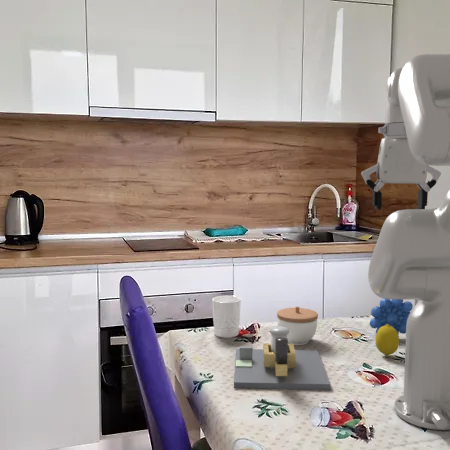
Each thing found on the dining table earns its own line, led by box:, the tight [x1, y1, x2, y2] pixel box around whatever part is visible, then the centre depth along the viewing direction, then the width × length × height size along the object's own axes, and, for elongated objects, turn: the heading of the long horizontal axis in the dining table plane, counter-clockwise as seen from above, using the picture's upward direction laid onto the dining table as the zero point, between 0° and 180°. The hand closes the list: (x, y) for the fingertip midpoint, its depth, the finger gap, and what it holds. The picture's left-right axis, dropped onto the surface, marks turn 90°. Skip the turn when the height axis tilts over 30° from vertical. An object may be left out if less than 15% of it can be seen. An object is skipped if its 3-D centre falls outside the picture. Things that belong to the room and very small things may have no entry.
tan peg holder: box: [262, 337, 296, 376], centre depth 114 cm, size 13×7×8 cm, turn 177°
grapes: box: [369, 298, 414, 335], centre depth 139 cm, size 12×7×12 cm, turn 72°
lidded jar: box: [276, 306, 319, 346], centre depth 137 cm, size 11×11×9 cm
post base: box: [233, 325, 331, 391], centre depth 117 cm, size 20×20×10 cm
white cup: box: [211, 294, 242, 339], centre depth 142 cm, size 8×8×10 cm
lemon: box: [375, 324, 400, 357], centre depth 126 cm, size 6×6×8 cm
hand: (399, 209), depth 116 cm, fingers open, 9 cm apart
